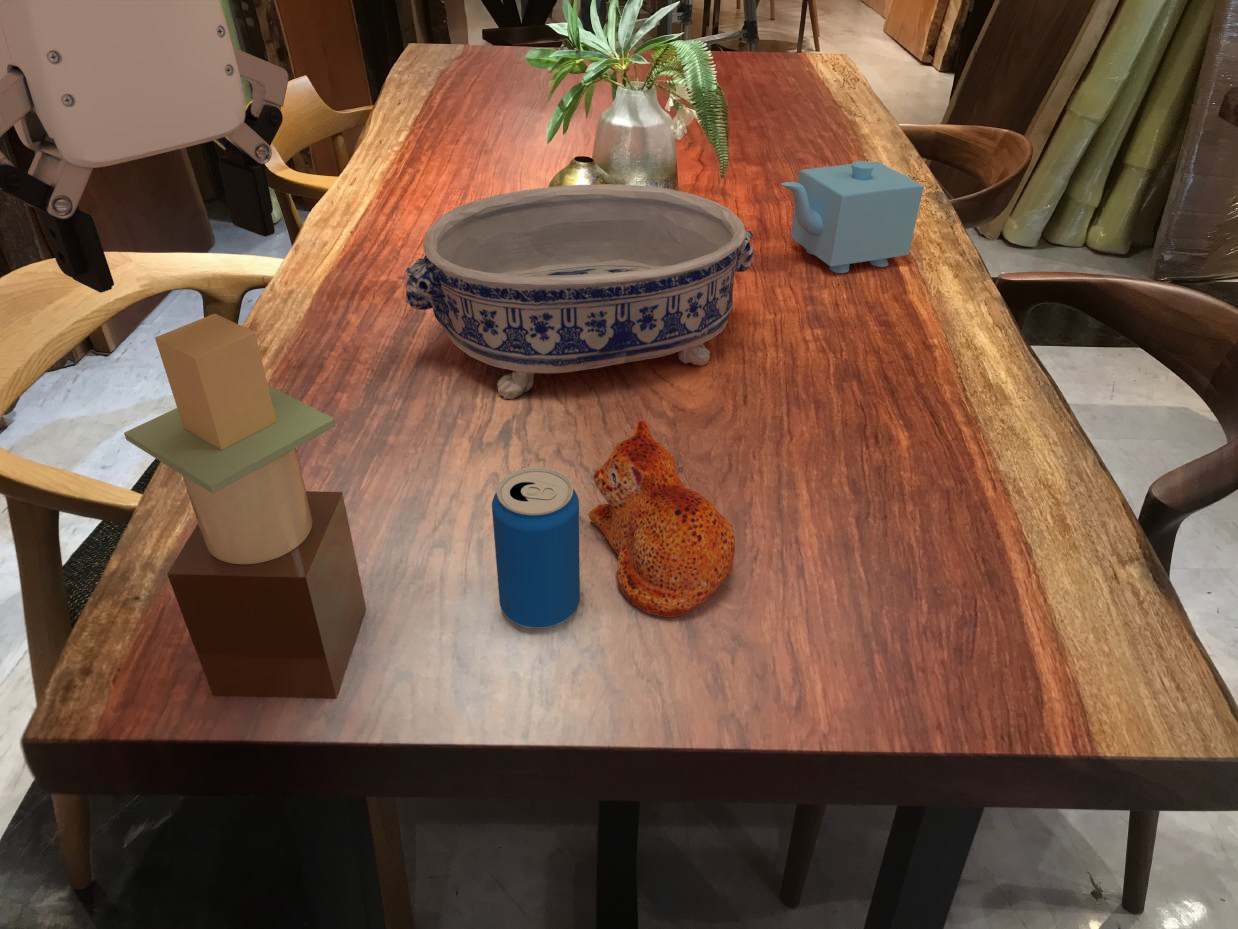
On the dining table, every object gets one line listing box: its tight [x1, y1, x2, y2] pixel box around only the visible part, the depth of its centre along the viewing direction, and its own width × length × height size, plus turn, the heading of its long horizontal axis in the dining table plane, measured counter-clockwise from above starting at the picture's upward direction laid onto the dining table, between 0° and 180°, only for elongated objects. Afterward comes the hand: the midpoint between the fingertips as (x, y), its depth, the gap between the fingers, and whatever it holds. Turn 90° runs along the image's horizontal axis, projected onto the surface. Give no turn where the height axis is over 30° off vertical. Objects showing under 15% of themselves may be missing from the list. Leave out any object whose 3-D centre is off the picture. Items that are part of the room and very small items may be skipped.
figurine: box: [588, 420, 736, 618], centre depth 75 cm, size 15×11×10 cm
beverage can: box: [491, 466, 581, 629], centre depth 69 cm, size 6×6×12 cm
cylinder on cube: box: [166, 447, 367, 699], centre depth 62 cm, size 9×9×20 cm
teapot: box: [780, 160, 925, 274], centre depth 127 cm, size 22×11×14 cm, turn 111°
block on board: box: [123, 313, 337, 494], centre depth 55 cm, size 9×9×7 cm
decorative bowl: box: [404, 183, 755, 400], centre depth 105 cm, size 42×27×15 cm, turn 110°
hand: (179, 255), depth 49 cm, fingers open, 9 cm apart
